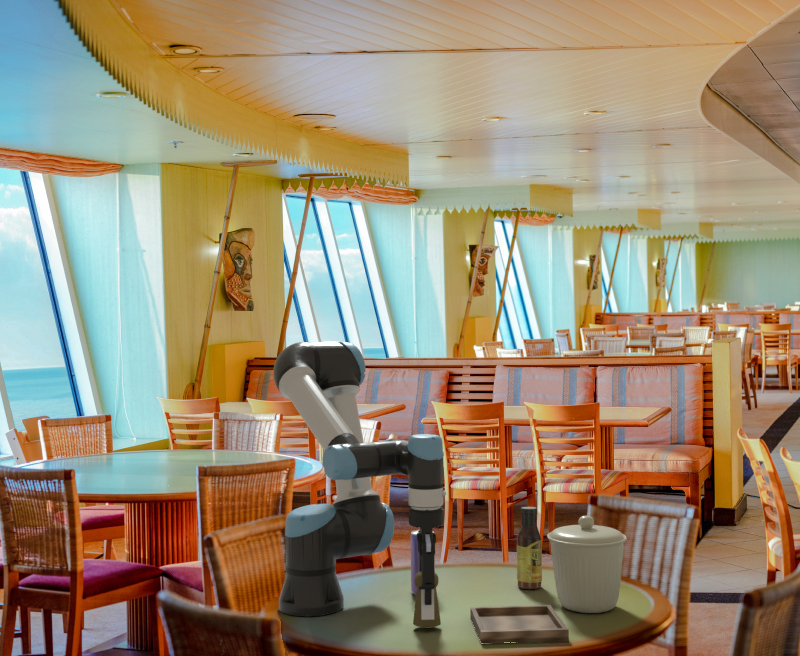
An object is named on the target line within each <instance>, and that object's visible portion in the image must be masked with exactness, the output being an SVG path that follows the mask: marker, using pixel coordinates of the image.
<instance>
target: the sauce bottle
mask: <svg viewBox="0 0 800 656" xmlns="http://www.w3.org/2000/svg"><path fill="white" fill-rule="evenodd" d="M537 514H538V508H537V507H535V506H521V507H520V515H521V527H520V529H519V530H518V532H517V535H516V542H517V543H516V580H517V586H518V588H519V589H524V590H537V589H540V588H541V587H542V581H543V567H542V566H543V560H542V559H543V555H542V554H543V551H542V549H543V545H542V544H543V543H542V542H543V541H542V539H543V538H542V537H541V534H540V531H539V528H538V524H537Z"/></svg>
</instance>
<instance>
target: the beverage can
mask: <svg viewBox="0 0 800 656" xmlns="http://www.w3.org/2000/svg"><path fill="white" fill-rule="evenodd" d="M419 530H420V529H417V530H412V531H411V532H410V533H411V534H410V537H409V539H410V583H411V585H410V590H411V593H412V594H413V595H414V594H415V595H414V596H416V594H417V587H416V585H415V575H416V574H417V573H418V572H419V552H418V541H417V533H418V531H419ZM434 572H435V573H436V554H435V555H434Z"/></svg>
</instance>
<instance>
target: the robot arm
mask: <svg viewBox="0 0 800 656" xmlns="http://www.w3.org/2000/svg"><path fill="white" fill-rule="evenodd" d="M272 372H273V381H274V384H275V386H276V388H277V390H278V391H279V392H280V394H281V395H282V397H284V398H285V399H287V400H289V401H291V403H292V405H293V406H294V408H295V409H296V411H297V412H298V414H299V415H300V417H301V418H302V420H303V421H304V422H305V424H306V426H307V427H308V429H309V430H310V432H311V433H312V435H313V436H314V438H315V439H316V440H317V442H318V444H319V445H320V447H321V448H322V449H323V454H322V459H321V460H322V467H323V469H324V470H323V471H324V474H325V475H326V477H328V478H329V479H331V480H334V482H335V487H336V492H337V497H336V498H335V500H334V501H333V503H332V504H331V503H317V504H315V503H314V504H308V505H304V506H300V507H297V508H295V509H292V510H291V511H290V512H289V513H288V514H287V515H286V518H285V526H284V527H285V529H284V535H285V568H286V569H285V578H284V581H283V585H282V587H281V588H282V589H281V592H280V595H279V599H278V610H279V612H280V613H283V614H285V615H289V616H294V617H317V616H318V617H319V616H325V615H331V614H334V613H337V612H339V611H341V610H342V609H344V606H345V605H344V604H345V603H344V602H345V601H344V600H345V599H344V594H343V591H342V588H341V585H340V582H339V579H338V575H337V572H336V571H337V570H336V568H337V567H336V565H337V564H336V563H337V560H339V559H345V558H354V557H358V556H371V555H374V554H378V553H382V552H384V551H385V550H386V549H388V547H389V546H390V545H391V543H392V539H393V537H394V533H395V518H394V514H393V511H392V509H391V507H390V506H389V505H388V504H386V503H384V502H382V501H381V496H380V494H379V493H378V492H376V490H374V489H373V485H372V481H371V477H381V476H383V477H384V476H391V475H392V476H394V475H403V476H407V478H408V488H407V489H408V491H407V493H408V496H407V497H408V498H407V499H408V506H410V507H409V509H408V523H409V524H408V525H410V527H413V528H419V529H418V530H419V531H418V533H417V541H418V552H419V572H421V571H422V585H421V587H419V590H421V619H422V620H434V588H435V580H434V555H435V556H436V543H437V535H436V533H435V532H434V531H433V529H434V528H439V527H442V526H443V525H444V521H445V520H444V519H445V518H444V511H445V510H444V508H443V507H442V506H443V505H444V496H446V495H447V492H446V490H444V457H445V454H444V453H445V452H444V445H443V438H442V437H441V436H440V435H438V434H430V433H417V434H413V435H412V434H411V435H410V436H409V437H408V440H404V439H401V438H386V439H385V440H383V441H374V442H370V441H369V442H365V441H364V438H363V432H362V431H363V430H362V424H361V420H360V415H359V410H358V403H357V398H356V397H357V395H358V394H359V392H360V390H361V388H360V385H362V384H363V383H364V380H365V379H366V374H365V373H366V363H365V359H364V357H363V353H362V352H361V350H360V348H358V347H357V346H356V345H355V344H353V343H351V342H346V341H345V342H344V341H338V340H337V341H316V342H315V341H313V342H307V341H302V342H301V341H300V342H295V343H292V344H290V345H288V346H286V347H285V348H284V349H283V350H282V351H281V352H280V353H279V354H278V356H277V357H276V359H275V362H274V365H273V370H272Z"/></svg>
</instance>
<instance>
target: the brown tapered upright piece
mask: <svg viewBox="0 0 800 656" xmlns="http://www.w3.org/2000/svg"><path fill="white" fill-rule="evenodd" d="M434 580H435V588H434V620H422V619H421V590H419V587H421V585H422V571H421V572H418V573H417V574H416V575H415V585H416V587H417V594H416V595H415V602H414V603H415V604H414V613H413V620H412V624H413V626H415V627H418V628H435V627H439V626H440V625H441V624H442V621H441V613H440V608H439V600H438V593H437V587H438V585H439V575H438V574H437V572H436V571H435V572H434Z"/></svg>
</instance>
